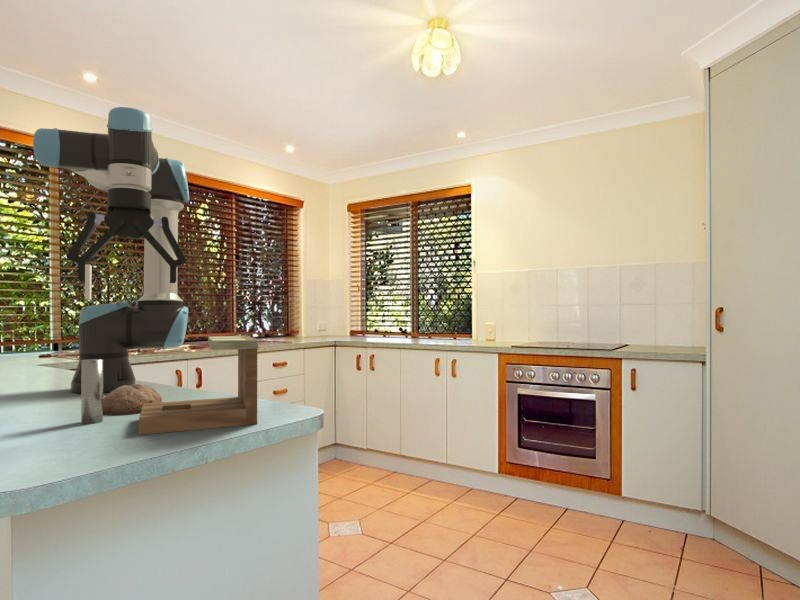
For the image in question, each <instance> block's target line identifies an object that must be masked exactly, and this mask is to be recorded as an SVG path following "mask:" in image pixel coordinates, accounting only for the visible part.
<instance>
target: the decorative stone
mask: <svg viewBox="0 0 800 600" xmlns="http://www.w3.org/2000/svg"><path fill="white" fill-rule="evenodd" d="M159 402H163V399H162V396H161V395H160V393H159V392H157V390H155V389H154V388H152V387H150V386H148V385H146V384H141V383H140V384H139V383H136V384H134V385H124V386H121V387H119V388H117V389H115V390H113V391H112V392H108V393H107V395H106V396H105V397H103V414H107V415H117V416H119V415H136V414H140V413H141V410H142V407H143V404H144V403H159Z"/></svg>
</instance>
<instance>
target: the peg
mask: <svg viewBox="0 0 800 600" xmlns="http://www.w3.org/2000/svg"><path fill="white" fill-rule="evenodd" d="M80 394H81V396H80V397H81V398H80V399H81V402H80V406H81V407H80V410H81V411H80V412H81V413H80V423H81V424H82V425H83V424H84V425H91V424H92V425H93V424H99V423H103V422H104V413H103V399H104V392H103V359H87V360H82V372H81V393H80Z"/></svg>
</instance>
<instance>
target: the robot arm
mask: <svg viewBox="0 0 800 600" xmlns="http://www.w3.org/2000/svg"><path fill="white" fill-rule="evenodd" d="M107 119H108V120H107V124H106V128H107V133H99V132H97V133H96V132H88V131H87V132H84V131H74V130H67V129H58V128H56V127H55V128H45V127H43V128H38V129H37V130H36V131H35V132H34V134H33V139H32V144H33V145H32V146H33V147H32V148H33V154H34V156H35V160H36V161H37V163H38V164H39V165H41V166H44V167H50V168H54V169H59V168H61V169H67V170H70V171H71V172H73V173H75V174H77V175H79V176H81V177H83V178H84V179H85V181H87V182H88V183H89V185H91V186H92V187H94V188H95V189H98V190H100V191H103V192H105V193H107V199H106V200H107V203H106V204H107V209H106V213H105V214H100V213H95V212H94V211H89V212H88V213H87V218H86V223H85V225H84V226H83V228H82V230H81V231H80V233H79V235H78V237H77V238H76V239H75V242H74V243H73V245H72V246H71V248H70V249H69V251H68V253H67V255H66V259H67V260H68V261H70V262H73V263H76V264H77V265H78V267H77V270H78V271H77V272H78V273H77V274H78V275H77V279H78V281H79V282H81V283H82V282H84V300H86V301H87V300H89V301H92V279H93V278H92V276H93V275H92V274H93V273H92V271H93V269H92V265H91V264H88V263H89V262H90V261H91V260H92V259H93V258H94V257H95V256H96V255H97V254H98V253H99V252H100V251H101V250H103V248H104V247H105V246H106V245H107V244H108V243H110V241H113V239H114V238H115V237H117V238H119V239H125V240H126V239H133V240H140V239H143V238H144V242H143V243H144V244H143V245H144V252H143V253H144V254H143V256H144V257H143V258H144V259H143V294H142V296H140V298H138V299H137V300H136V301H137V303H136V305H137V306H130V304H129V302H127V301H122V302H121V301H120V302H112V303H110V302H109V303H102V304H94V305H93V304H92V305H88V306H84V307H83V308H81V310H80V311H79V318H78V319H79V320H78V325H77V326H78V364H77V365H76V369H75V371H74V374H73V377H72V379H71V382H70V392H72V393H76V394H81V372H82V360H87V359H103V393H110V392H112V391H113V390H115V389H117V388H119V387H121V386H124V385H134V384H137V383H136V377H135V374H134V372H133V367H132V365H131V361H130V360H129V359H130V358H129V351H130V350H154V349H155V350H156V349H157V350H158V349H159V350H160V349H163V350H165V349H175V348H176V349H177V348H179V347H181V346H182V345H183V344H184V342H185V339H186V338H185V337H186V332H187V327H188V320H189V307H187V306H184V300H183V299H182V298H181V297H180V296H179V294H178V271H179V270H178V267H179V266H182V265H185V264H186V263H187V259H186V257H185V255H184V253H183V252H182V251H183V250H182V249H181V247H180V246H179V232H178V231H179V213H180V212H181V211H182V210H183V209H185V208H184V207H185V203H187V202H190V193H189V185H188V184H189V183H188V178H187V171H186V166H185V164H184V163H183V161H181V160H178V159H171V158H168V157H166V158H163V157H161V158H159V153H158V150H157V149H156V147H155V144H154V142H153V138H152V137H153V136H152V134H153V133H152V132H153V128H152V118H151V116H150V115H149V114H148V113H146V112H145V111H144V110H141V109H138V108H133V107H127V106H125V107H124V106H118V107H113V108H112V109H110V110H109V112H108V118H107ZM102 222H105V224H106V225H107V227H108V229H107V230H106V231H105V232H104V233H103V235H102V236H101V237H99V238H98V240H96V241H95V242H94V243H93V244H92V245H91V246H90V247H89V248H88V249H87V250H86V251H85V252H84V253H83V254H82V255H81V256H79V255H80V253H81V251H82V250H83V248H84V247H85V245H86V244H87V242H88V240H89V238H90V237H91V235H92V233H94V231H95V230H94V229H95V228H96V226H99V225H101V223H102Z"/></svg>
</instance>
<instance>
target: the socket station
mask: <svg viewBox="0 0 800 600" xmlns="http://www.w3.org/2000/svg"><path fill="white" fill-rule="evenodd" d="M207 345H208V346H209V347H210V349H212V350H213V351H227V350H237V378H238V379H237V396H233V397H232V396H231V397H230V396H229V397H217V398H207V399H206V398H205V399H204V398H202V399H192V400H191V399H190V400H177V401H176V400H175V401H162V402H159V403H144V404H143V407H142V410H141V413H139V417H138V435H139V436H140V435H153V434H163V433H174V432H175V433H176V432H185V431H186V432H187V431H196V430H205V429H218V428H227V427H228V428H230V427H238V426H249V425H250V426H251V425H257V424H258V349H259V340H258V339H256V338H254V337H251V336H250V335H227V336H226V335H219V336H217V335H215V336H213V335H212V336H211V335H210V336H207Z"/></svg>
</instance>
